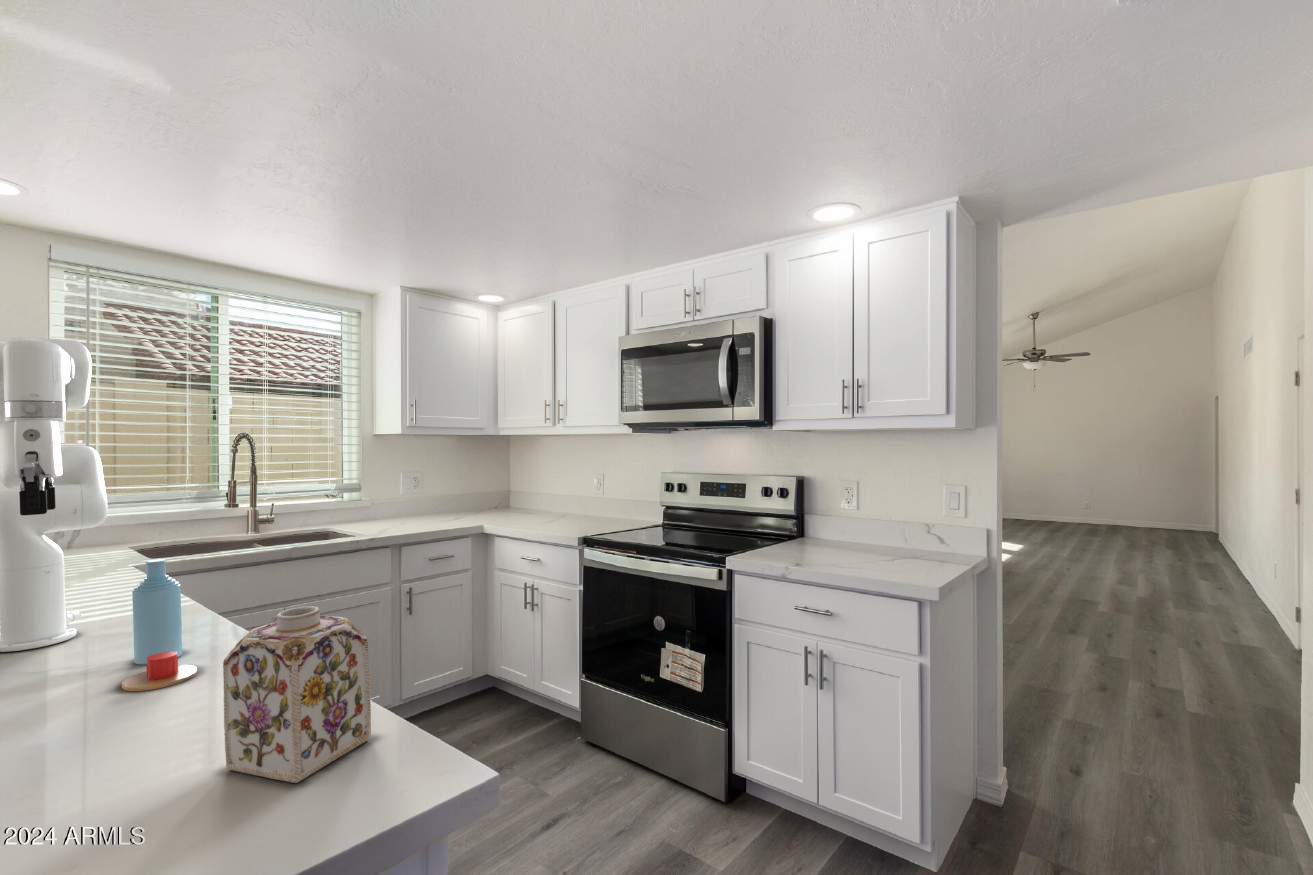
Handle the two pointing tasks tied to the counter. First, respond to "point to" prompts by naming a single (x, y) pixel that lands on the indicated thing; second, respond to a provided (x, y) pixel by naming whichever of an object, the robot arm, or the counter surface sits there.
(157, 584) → the bottle
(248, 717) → the decorative jar
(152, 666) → the cap
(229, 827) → the counter surface
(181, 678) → the coaster
